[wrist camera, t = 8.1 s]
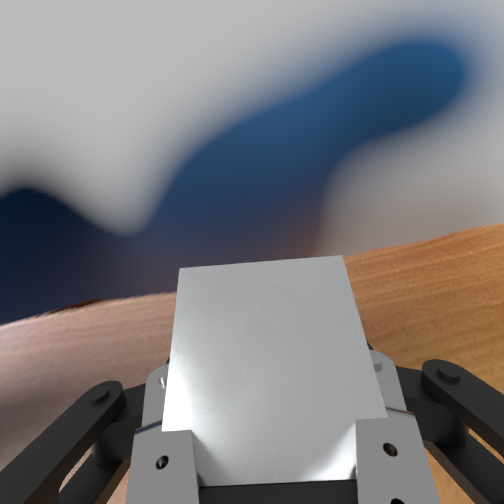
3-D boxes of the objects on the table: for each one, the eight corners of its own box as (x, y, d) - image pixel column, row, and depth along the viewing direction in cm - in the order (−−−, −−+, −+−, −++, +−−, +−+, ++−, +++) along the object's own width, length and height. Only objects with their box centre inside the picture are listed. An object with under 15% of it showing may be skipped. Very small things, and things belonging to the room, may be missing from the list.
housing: (229, 422, 13) (155, 488, 5) (229, 331, 16) (179, 268, 7) (317, 416, 13) (404, 476, 5) (303, 326, 16) (342, 255, 7)
